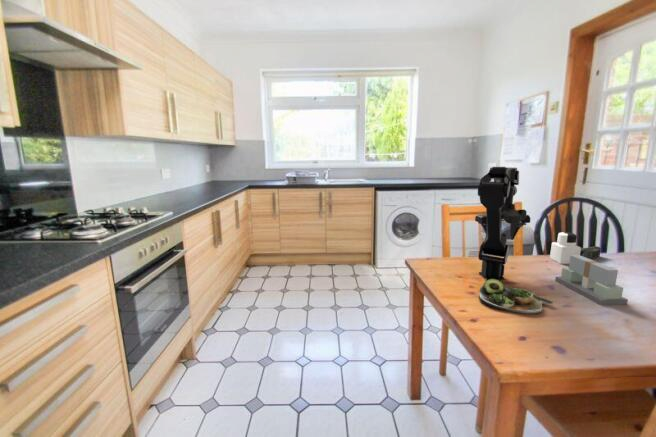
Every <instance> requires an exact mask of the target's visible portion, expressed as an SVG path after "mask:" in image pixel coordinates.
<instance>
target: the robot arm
mask: <svg viewBox="0 0 656 437" xmlns="http://www.w3.org/2000/svg"><path fill="white" fill-rule="evenodd" d="M492 180H493V181H492ZM519 185H520V170H518V168H517V167H506V166H492V167H490V168H489V171H488V173H486V174H485V175H484V176H482V177H481V178H480V181H479V184H478V187H477V196H478V197H479V202H480V204H481V205H482V206H483V207H484V208H485V209H486V212H485V213H478V214H476V216H475V217H474V221H475V222H476V223H478V224H480V225H481V227H482V228H483V231H484V233H485V234H484V235H485V237H484V241H482V243H481V244H480V246H479V251H478V257H477V258H478V260H479V261H481V271H479V272H478V274H479V275H480V276H481V277H483V278H484V279H486V281H487V280H489V279H496V280H499V281H500V280H501V281H502V280H506V278H505V277H504V275H505V265H506V264H507V262H508V256H509V248H510V245H509V244H508V238H507V237H508V235H507V234H506V233H503V232H502V231H503V230H502V229H503V228H502V223H503V222H505V223H507V224H509V226H510V228H509V229H510V230H509V232H510V233H509V234H510V235H509V237H510V240H511V241H514V240H515V237H516V235H517V234H518V232H519V231H520V229H521V228H522V227H523V226H526V225H527V224H530V223H531V219H532V218H531V216H530V215H529V214H527V210H526V209H516V204H515V203H513V202H514V201H513V200H514V196H516V194H517V192H518V188H517V186H519Z"/></svg>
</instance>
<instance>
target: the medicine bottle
mask: <svg viewBox="0 0 656 437" xmlns="http://www.w3.org/2000/svg"><path fill="white" fill-rule="evenodd" d="M577 239H578V235H577V234H576V233H573V232H568V231H566V232H565V231H563V232H562V231H561V232H558V234H557V240H556V241H554V242H551V247H550V253H549V254H550V255H549V258H550V259H551V260H553V261H554V262H556V263H558V264H560V265H569V263H570V256H571V255H580V251H581V249H582V247H581V246H579V245H577Z"/></svg>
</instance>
